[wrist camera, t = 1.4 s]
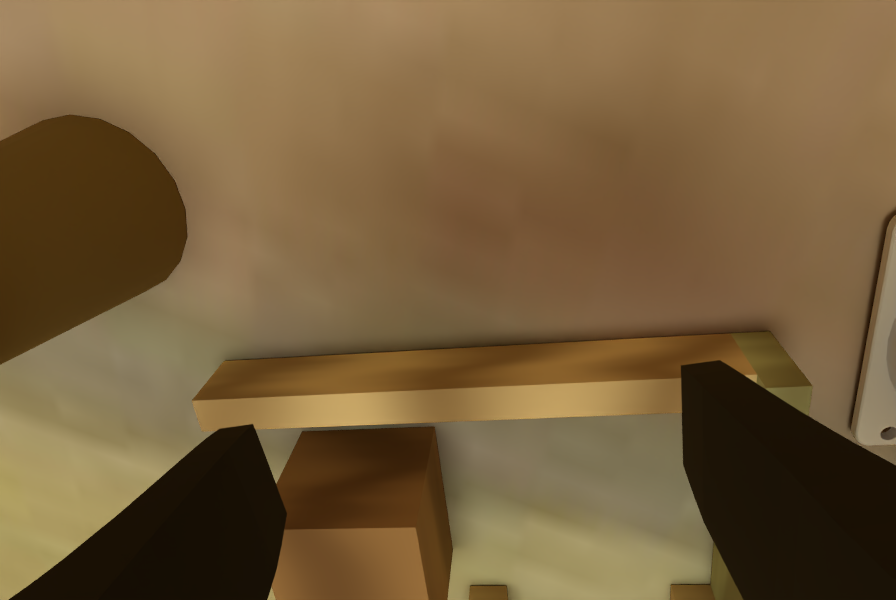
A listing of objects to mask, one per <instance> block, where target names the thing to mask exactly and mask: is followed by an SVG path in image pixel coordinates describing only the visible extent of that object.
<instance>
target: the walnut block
mask: <svg viewBox="0 0 896 600" xmlns="http://www.w3.org/2000/svg"><path fill="white" fill-rule="evenodd" d="M276 486H277V488H278V491H279V493H280V496H281V499H282V501H283V504H284V507H285V509H286V512H287V517H286V523H285V529H284V535H283V541H282V546H281V551H280V556H279V561H278V566H277V570H276V573H275V577H274V580H273V583H272V589H273V592H274V595H275V598H276V600H447V598H448V589H449V580H450V571H451V562H452V553H453V547H452V540H451V533H450V526H449V520H448V513H447V506H446V500H445V493H444V486H443V480H442V473H441V466H440V459H439V453H438V446H437V439H436V433H435V426H433V427H406V428H380V429H354V430H328V431H302V433H301V435H300V437H299V439H298V441H297V443H296V445H295V447H294V449H293V451H292V454H291V456H290V458H289V460H288V462H287V464H286V466H285V468H284V470H283V472H282V474H281V476H280V478H279V480H278V482H277V484H276Z"/></svg>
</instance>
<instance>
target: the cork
mask: <svg viewBox="0 0 896 600" xmlns="http://www.w3.org/2000/svg"><path fill="white" fill-rule="evenodd" d="M186 239H187V228H186V213H185V208H184V205H183V202H182V200H181V197H180V194H179V192H178V189H177V186H176V184H175V181H174V180H173V178H172V177H171V176H170V174H169V173H168V171H167V170H166V169H165V167H164V166H163V164H162V163H161V162H160V160H159V159H158V158H157V156H156V155H155V154H154V153H153V152H152V151H151V150H149V149H148V148H147V147H146V146H145V145H143V144H142V143H141V142H140V141H139V140H137V139H136V138H135V137H134V136H133V135H131V134H130V133H129V132H127V131H124V130H122V129H120V128H118V127H116V126H114V125H111V124H109V123H107V122H105V121H103V120H101V119H96V118H89V117H82V116H74V115H66V116H62V117H57V118H52V119H47V120H43V121H41V122H39V123H36V124H34V125H32V126H30V127H28V128H26V129H24V130H22V131H20V132H18V133H16V134H14V135H12V136H10V137H8V138H6V139H4V140H2V141H0V364H2V363H4V362H6V361H8V360H10V359H12V358H14V357H16V356H18V355H20V354H22V353H24V352H26V351H28V350H30V349H32V348H34V347H36V346H38V345H40V344H42V343H44V342H46V341H48V340H50V339H52V338H54V337H56V336H58V335H60V334H62V333H64V332H66V331H68V330H70V329H72V328H74V327H76V326H78V325H80V324H82V323H84V322H86V321H88V320H90V319H92V318H94V317H96V316H98V315H99V314H101V313H103V312H105V311H107V310H109V309H111V308H113V307H115V306H117V305H119V304H121V303H123V302H125V301H127V300H129V299H131V298H133V297H135V296H137V295H139V294H141V293H143V292H145V291H147V290H149V289H150V288H152V287H154V286H156V285H158V284H159V283H161V282H163V281H165V280H166V279H167V278H168V276H169V275H170V274H171V273H172V271H173V270H174V269H175V267H176V266H177V265H178V264H179V262H180V260H181V257H182V253H183V250H184V246H185V243H186Z"/></svg>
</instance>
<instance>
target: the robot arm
mask: <svg viewBox="0 0 896 600" xmlns="http://www.w3.org/2000/svg"><path fill="white" fill-rule="evenodd" d="M681 395H682V434H683V466H684V468H685V471H686V474H687V477H688V480H689V483H690V486H691V488H692V491H693V494H694V497H695V500H696V502H697V505H698V508H699V510H700V513H701V516H702V518H703V521H704V523H705V525H706V527H707V529H708V531H709V533H710V535H711V537H712V539H713V541H714V543H715V545H716V547H717V549H718V551H719V553H720V555H721V557H722V559H723V561H724V563H725V565H726V567H727V569H728V571H729V573H730V575H731V577H732V579H733V581H734V583H735V585H736V587H737V588H738V590H739V592H740V594H741V596H742V598H743V600H896V465H894V464H892V463H890V462H888V461H886V460H885V459H883V458H881V457H879V456H877V455H875V454H873V453H872V452H870V451H868V450H866V449H864V448H862V447H860V446H859V445H857V444H855V443H853V442H851V441H850V440H848V439H846V438H845V437H843V436H841V435H839V434H838V433H836V432H834V431H832V430H831V429H829V428H827V427H826V426H824V425H822V424H821V423H819V422H817V421H816V420H814V419H812V418H811V417H809V416H807V415H806V414H804V413H803V412H801V411H799V410H798V409H796V408H794V407H793V406H791V405H790V404H788V403H787V402H785V401H783V400H782V399H780V398H779V397H777V396H776V395H774V394H772V393H771V392H769V391H768V390H766V389H765V388H763V387H762V386H760V385H759V384H757V383H755V382H754V381H752V380H751V379H749V378H748V377H746V376H745V375H743V374H742V373H740V372H738V371H737V370H735V369H734V368H732V367H731V366H729V365H727V364H726V363H724V362H722V361H721V360H716V361H709V362H701V363H694V364H687V365H681ZM888 427H891V428H890V429H889V430H888V431H886V432H883V433H881V432H882V430H884V429H885V428H888ZM851 433H852V434H853V436H854V437H855V438H856V440H857V441H858V442H859V443H861V444H863V445H868V446H873V445H896V215H895V216H894V217H893V218H892V219H891V221H890V222H889V225H888V227H887V231H886V237H885V243H884V248H883V254H882V259H881V265H880V270H879V276H878V281H877V287H876V292H875V298H874V304H873V309H872V315H871V320H870V326H869V331H868V337H867V342H866V348H865V354H864V359H863V365H862V370H861V376H860V381H859V387H858V392H857V398H856V403H855V409H854V415H853V420H852V426H851ZM286 517H287V512H286V509H285V507H284V504H283V501H282V499H281V496H280V493H279V491H278V488H277V486H276V483H275V480H274V478H273V475H272V472H271V470H270V467H269V464H268V462H267V459H266V457H265V454H264V451H263V449H262V446H261V443H260V441H259V438H258V436H257V433H256V430H255V428H254V425H253V424H249V425H242V426H235V427H227V428H220V429H218V430H217V431H216V432H214V433H213V434H212V435H210V436H209V437H208V438H206V439H205V440H204V441H203V442H201V443H200V444H199V445H198V446H197V447H195V448H194V449H193V450H192V451H191V452H190V453H188V454H187V455H186V456H185V457H184V458H183V459H181V460H180V461H179V462H178V463H177V464H176V465H175V466H173V467H172V468H171V469H170V470H169V471H168V472H167V473H165V474H164V475H163V476H162V477H161V478H160V479H159V480H157V481H156V482H155V483H154V484H153V485H152V486H151V487H149V488H148V489H147V490H146V491H145V492H144V493H143V494H141V495H140V496H139V497H138V498H137V499H136V500H134V501H133V502H132V503H131V504H130V505H129V506H128V507H126V508H125V509H124V510H123V511H122V512H121V513H119V514H118V515H117V516H116V517H115V518H113V519H112V520H111V521H110V522H108V523H107V524H106V525H105V526H104V527H102V528H101V529H100V530H99V531H97V532H96V533H95V534H94V535H92V536H91V537H90V538H89V539H88V540H86V541H85V542H84V543H83V544H81V545H80V546H79V547H78V548H77V549H75V550H74V551H73V552H72V553H70V554H69V555H68V556H67V557H66V558H64V559H63V560H62V561H60V562H59V563H58V564H57V565H55V566H54V567H53V568H51V569H50V570H49V571H47V572H46V573H45V574H43V575H42V576H41V577H39V578H38V579H37V580H35V581H34V582H33V583H31V584H30V585H29V586H27V587H26V588H24V589H23V590H22V591H20V592H19V593H17V594H16V595H15V596H13V597H12V598H10V599H9V600H267V599H268V596H269V592H270V589H271V586H272V583H273V580H274V577H275V573H276V570H277V566H278V561H279V556H280V551H281V546H282V541H283V535H284V529H285V523H286Z"/></svg>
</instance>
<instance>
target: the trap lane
mask: <svg viewBox="0 0 896 600" xmlns="http://www.w3.org/2000/svg"><path fill="white" fill-rule="evenodd" d="M716 360H721V361H722V362H724V363H726V364H727V365H729V366H731V367H732V368H734V369H735V370H737V371H738V372H740V373H742V374H743V375H745V376H746V377H748V378H749V379H751V380H752V381H754V382H755V383H757V384H759V385H760V386H762V387H763V388H765V389H766V390H768V391H769V392H771V393H772V394H774V395H776V396H777V397H779V398H780V399H782V400H783V401H785V402H787V403H788V404H790V405H791V406H793V407H794V408H796V409H798V410H799V411H801V412H803V413H804V414H806V415H807V416H808V415H809V408H810V401H811V395H812V388H813V386H812V385H811V383H810V382H809V381H808V379H807V378H806V377H805V376H804V374H803V373H802V372H801V370H800V369H799V368H798V367H797V365H796V364H795V363H794V361H793V360H792V359H791V358H790V356H789V355H788V354H787V353H786V351H785V350H784V349H783V347H782V346H781V345H780V344H779V342H778V341H777V340H776V338H775V337H774V336H773V335H772V333H771V332H770V331H764V332H746V333H728V334H709V335H691V336H673V337H654V338H636V339H618V340H600V341H581V342H563V343H545V344H527V345H508V346H490V347H472V348H453V349H435V350H417V351H399V352H380V353H362V354H344V355H326V356H307V357H289V358H271V359H252V360H234V361H224V362H223V363H222V364H221V365H220V367H219V368H218V369H217V370H216V371H215V373H214V374H213V375H212V376H211V378H210V379H209V380H208V381H207V383H206V384H205V385H204V386H203V388H202V389H201V390H200V391H199V393H198V394H197V395H196V396H195V397H194V399H193V400H192V403H193V406H194V409H195V412H196V415H197V418H198V421H199V424H200V427H201V430H202V431H217V430H218V429H220V428H227V427H235V426H242V425H249V424H253V425H254V428H255V429H277V428H302V427H328V426H353V425H379V424H404V423H430V422H455V421H481V420H506V419H531V418H557V417H582V416H608V415H633V414H659V413H682V395H681V365H687V364H694V363H701V362H709V361H716ZM469 600H508V595H507V586H470V595H469ZM670 600H743V598H742V596H741V594H740V592H739V590H738V588H737V587H736V585H735V583H734V581H733V579H732V577H731V575H730V573H729V571H728V569H727V567H726V565H725V563H724V561H723V559H722V557H721V555H720V553H719V551H718V549H717V547H716V545H715V543H714V546H713V559H712V571H711V584H710V585H671V594H670Z"/></svg>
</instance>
